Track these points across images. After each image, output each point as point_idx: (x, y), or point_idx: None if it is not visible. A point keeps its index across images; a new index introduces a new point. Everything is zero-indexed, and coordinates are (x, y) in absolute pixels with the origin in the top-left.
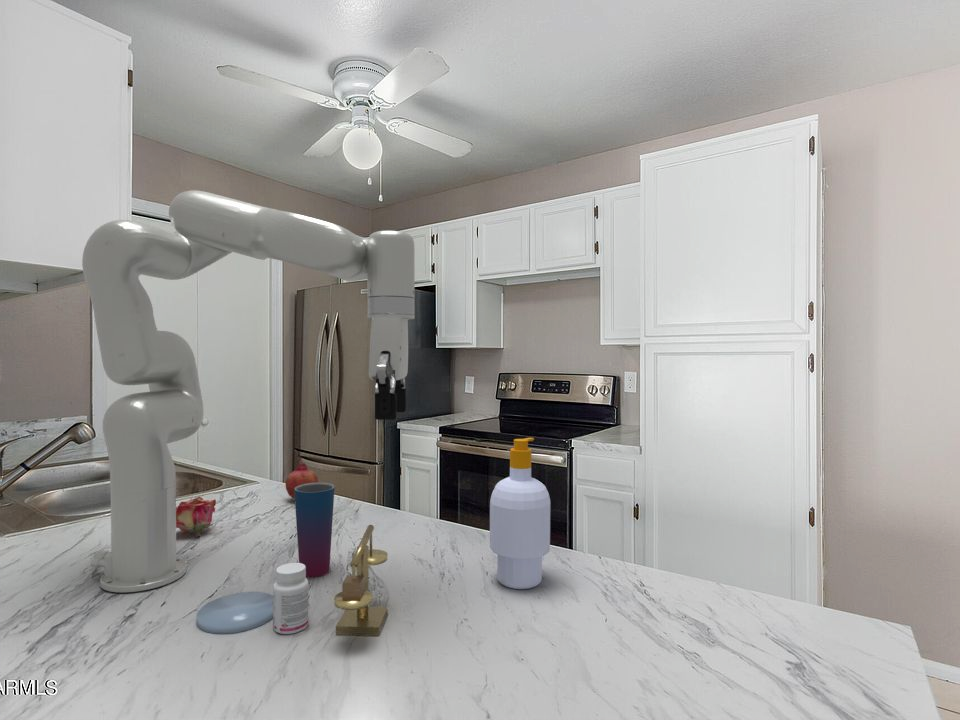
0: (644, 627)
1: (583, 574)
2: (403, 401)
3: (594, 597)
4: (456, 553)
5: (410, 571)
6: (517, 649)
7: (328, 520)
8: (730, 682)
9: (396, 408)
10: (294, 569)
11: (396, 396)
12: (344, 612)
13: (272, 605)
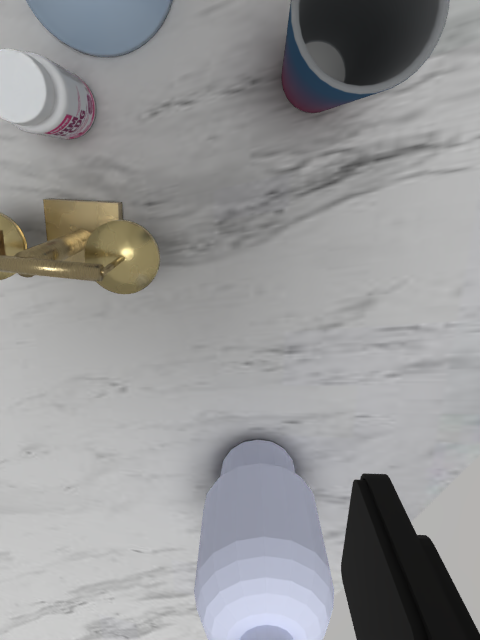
0: (122, 583)
1: None
2: (360, 636)
3: None
4: (392, 371)
5: (306, 290)
6: (49, 449)
7: (314, 97)
8: (20, 621)
9: (351, 546)
10: (4, 99)
11: (381, 638)
12: (93, 203)
13: (112, 40)
